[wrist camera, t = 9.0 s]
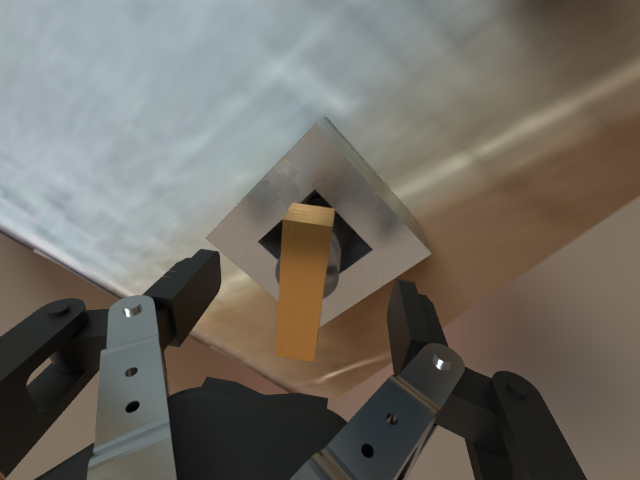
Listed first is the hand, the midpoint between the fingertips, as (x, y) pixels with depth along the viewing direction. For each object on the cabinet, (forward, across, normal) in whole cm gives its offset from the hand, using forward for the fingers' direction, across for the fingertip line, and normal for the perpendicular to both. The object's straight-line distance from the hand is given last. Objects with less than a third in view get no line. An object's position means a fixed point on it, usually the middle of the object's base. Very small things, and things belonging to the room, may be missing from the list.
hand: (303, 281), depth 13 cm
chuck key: (+8, 0, 0) cm, 8 cm away
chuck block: (+8, 0, 0) cm, 8 cm away
